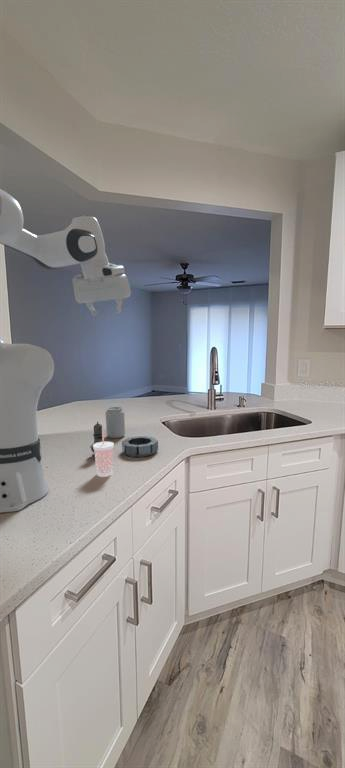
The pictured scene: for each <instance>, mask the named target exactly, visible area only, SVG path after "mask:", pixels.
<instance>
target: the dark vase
mask: <svg viewBox="0 0 345 768" xmlns="http://www.w3.org/2000/svg"><path fill="white" fill-rule="evenodd" d="M102 428H103V425H102V424H100V423H99V421H97V422H96V424H95V425H94V426H93V434H92V437H93V444H91V445H90V446H89V447H90V448H91V452H92V453H93V454H92V455H91V458H93V459H95V453H94V449H93V445H94V444H95V443H98V442H102Z"/></svg>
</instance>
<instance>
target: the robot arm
mask: <svg viewBox="0 0 345 768" xmlns="http://www.w3.org/2000/svg"><path fill="white" fill-rule="evenodd" d="M23 213H24V212H23V210H22V207H21V205H20V203H19V202H18V200H17V199H16V198H14V197H13V196H12V195H11V194H9V193H8V192H7V191H5V190H3V189H1V188H0V244H1V245H2V246H5V247H7V248H9V249H11V250H13V251H17V252H18V253H21V254H23V255H25V256H27V257H28V258H31V259H32V260H33V261H34V262H35V263H37V264H38V265H39V266H41V268H44V269H46V270H49V271H50V270H55V269H60V268H63V267H68V266H73V265H79V264H80V267H81V270H82V273H81V274H75V275H74V276H73V277H72V279H71V282H72V285H73V286H72V287H73V292H74V293H73V294H74V299H75V301H76V302H77V304H85V305H86V307H87V308H88V309H89V312H90V313H91V316H92V317H93V316H97V315H99V312H98V309H97V308H96V309H95V307H94V303H96V302H104V301H112V300H115V303H116V307H114V312H115V314H122V305H123V299H127V298H130V296H131V294H132V291H131V290H132V289H131V286H130V282H129V279H128V277H127V275H126V274H124V273H125V267H124V266H123V265H120V264H114V263H111V262H109V261H110V260H109V258H108V255H107V253H106V244H105V240H104V235H103V232H102V229H101V226H100V224H99V221H98V220H97V218H96V217H94V216H91V215H78V216H74V217H73V218H72V219H71V223H70V224H69V226H67V227H66V228H64V229H63V230H61V231H55V232H51V233H47V234H34V233H32V232H30V231H28V230H27V229H25V228H24V223H25V222H24V214H23ZM54 372H55V362H54V359H53V357H52V355H51V353H50V352H49V351H48V350H47V349H45V348H43V347H41V346H38V345H33V344H30V343H7V342H5V341H3V339H1V338H0V513H10V512H11V513H12V512H18V511H20V510H23V509H24V508H25V507H27V506H29V505H30V504H32V503H34V502H37V501H38V500H40V499H42V498H43V497H44V496H46V495H47V494H48V492H49V486H48V484H47V481H46V478H45V475H44V471H43V466H42V462H41V460H42V457H43V455H42V445H41V439H40V438H39V433H38V416H37V415H38V411H37V410H38V404H39V400H40V397H41V394H42V391H43V390H44V388H45V387H46V385H47V384H49V382H50V381H51V380H52V378H53V376H54Z"/></svg>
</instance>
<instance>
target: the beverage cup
mask: <svg viewBox="0 0 345 768" xmlns="http://www.w3.org/2000/svg"><path fill="white" fill-rule="evenodd" d="M104 434H105V433H104V427H102V442H98V443H95V444H94V443H93V444H94V445H93V449H94V452H93V454H94V453H95V458H94V460H95V468H96V475H97V477H100V478H107V477H109V476H112V475H113V474H114V470H113V467H114V460H113V459H114V448H115V446H114V445H115V443H114V442H113V441H105V435H104Z"/></svg>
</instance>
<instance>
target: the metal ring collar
mask: <svg viewBox="0 0 345 768" xmlns="http://www.w3.org/2000/svg"><path fill="white" fill-rule="evenodd" d="M121 450H122V454H123V455H124V456H126V457H130V458H147V457H150V456H154V455H156V454H157V453H158V450H159V440H158V439H156V438H155V437H152V436H145V435H142V436H141V435H140V436H139V435H138V436H133V437H128V438H126V439H124V440H122V441H121Z"/></svg>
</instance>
